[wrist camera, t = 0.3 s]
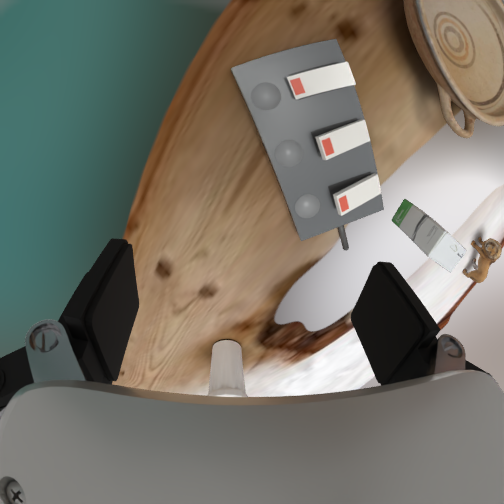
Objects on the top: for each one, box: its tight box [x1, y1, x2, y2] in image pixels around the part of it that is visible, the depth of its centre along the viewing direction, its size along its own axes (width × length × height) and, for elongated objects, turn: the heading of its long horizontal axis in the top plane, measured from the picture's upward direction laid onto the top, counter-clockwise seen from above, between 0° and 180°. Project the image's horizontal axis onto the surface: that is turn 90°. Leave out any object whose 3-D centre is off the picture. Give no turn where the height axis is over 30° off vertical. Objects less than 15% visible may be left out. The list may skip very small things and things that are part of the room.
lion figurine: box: [463, 237, 502, 283], centre depth 45 cm, size 15×5×9 cm, turn 16°
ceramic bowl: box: [404, 0, 504, 138], centre depth 20 cm, size 37×29×10 cm
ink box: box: [392, 199, 466, 272], centre depth 37 cm, size 9×5×12 cm, turn 64°
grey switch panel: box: [231, 39, 384, 250], centre depth 35 cm, size 14×32×3 cm, turn 22°
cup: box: [208, 340, 248, 397], centre depth 50 cm, size 8×8×14 cm
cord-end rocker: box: [333, 173, 381, 216], centre depth 34 cm, size 8×3×1 cm, turn 112°
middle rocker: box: [315, 119, 370, 160], centre depth 30 cm, size 8×3×1 cm, turn 112°
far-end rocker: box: [287, 62, 356, 99], centre depth 26 cm, size 8×3×1 cm, turn 112°
